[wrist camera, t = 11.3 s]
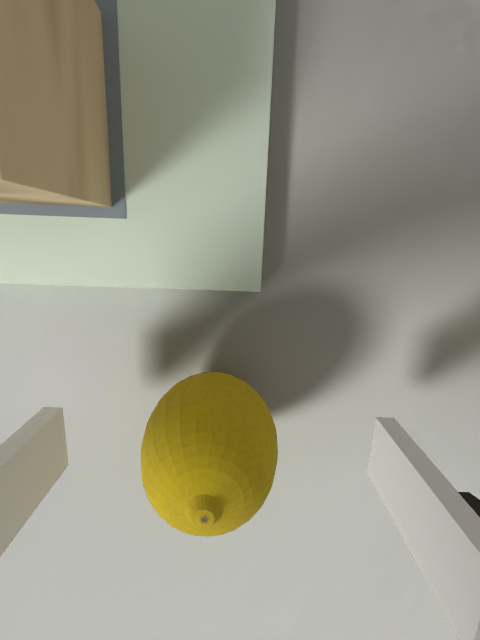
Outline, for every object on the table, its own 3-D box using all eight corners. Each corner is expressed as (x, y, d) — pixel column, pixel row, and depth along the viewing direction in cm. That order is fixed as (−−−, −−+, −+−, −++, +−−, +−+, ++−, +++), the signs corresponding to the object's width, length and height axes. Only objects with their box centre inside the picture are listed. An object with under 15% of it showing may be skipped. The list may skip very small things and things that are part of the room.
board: (-159, 273, 16) (-192, 277, 15) (-253, -99, 12) (-305, -136, 11) (258, 288, 16) (260, 292, 15) (276, -65, 13) (280, -96, 12)
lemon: (246, 454, 19) (256, 607, 11) (151, 425, 18) (91, 565, 10) (282, 368, 18) (322, 472, 10) (182, 334, 17) (139, 416, 9)
